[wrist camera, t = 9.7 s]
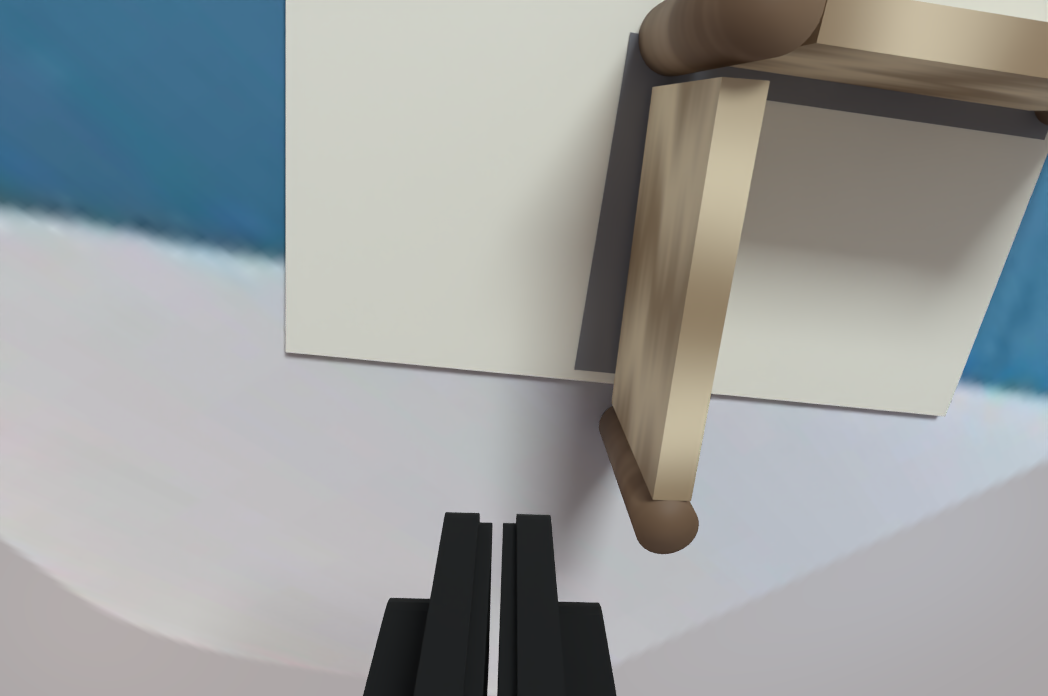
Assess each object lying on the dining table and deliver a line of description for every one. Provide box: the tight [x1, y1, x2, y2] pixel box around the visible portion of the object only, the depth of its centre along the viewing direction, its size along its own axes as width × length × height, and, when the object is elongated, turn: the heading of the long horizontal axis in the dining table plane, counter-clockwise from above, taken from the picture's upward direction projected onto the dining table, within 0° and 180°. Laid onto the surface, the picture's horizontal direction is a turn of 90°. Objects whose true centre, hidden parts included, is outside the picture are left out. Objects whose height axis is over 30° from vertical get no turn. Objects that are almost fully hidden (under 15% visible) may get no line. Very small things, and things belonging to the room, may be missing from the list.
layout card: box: [286, 0, 1048, 416], centre depth 24 cm, size 28×18×1 cm, turn 83°
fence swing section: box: [599, 77, 770, 554], centre depth 21 cm, size 14×2×7 cm, turn 176°
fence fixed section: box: [639, 0, 1048, 125], centre depth 19 cm, size 17×2×9 cm, turn 83°
